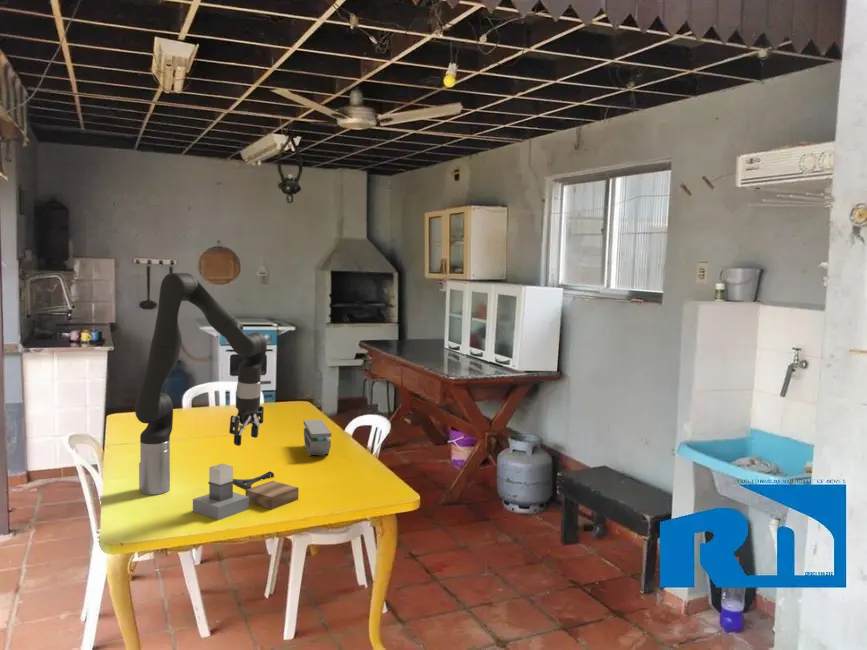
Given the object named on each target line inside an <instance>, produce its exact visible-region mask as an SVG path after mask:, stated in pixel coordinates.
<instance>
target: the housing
mask: <svg viewBox="0 0 867 650" xmlns="http://www.w3.org/2000/svg"><path fill="white" fill-rule="evenodd" d="M208 469H209V471H208V472H209V473H208V475H209V476H208V477H209V480H208V485H209V486H208V489H209V490H208V491H209V493H208V494H209V498H210V499H213V500H216V501H219V502H221V501H224V500H227V499H230V498H233V492H234V481H233V479H234V466H233V465H228V464H226V463H220V464H216V465H212V466H209V467H208Z"/></svg>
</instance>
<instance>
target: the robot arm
mask: <svg viewBox="0 0 867 650" xmlns="http://www.w3.org/2000/svg"><path fill="white" fill-rule="evenodd" d="M159 289H160V290H159V297H158V307H157V309H158V310H157V314H156V320H155V325H154V331H153V335H152V340H151V341H150V342H151V343H150V347H149V348H150V349H149V353H148V358H147V364H146V367H145V371H144V372H145V373H144V376H143V380H142V383H141V387H140V390H139V391H138V395H137V397H136V402H135V405H134V414H135V416H136V417H135V418H136V419H137V420H138V421H139V422H140V423H142V424H147V425H146V427H145V429H144V430H142V432H141V433H140V436H139V439H140V442H139V443H140V449H139V450H140V451H139V452H140V455H139V456H140V461H139V463H138V487H139V488H138V490H139V491H140V494H143V495H160V494H165V493H168V492H169V491H170V490H171V488H170V487H171V451H170V450H171V448H170V447H171V439H170V438H171V435H172V431H173V424H174V423H173V422H174V405H173V404H174V403H173V401H172V398H171V397H170V395H168V393H165V392H162V391H163V387H164V385H165V382H166V381H167V379H168V378H169V376H170V374H172V372H173V370H174V368H175V367H176V365H177V362H178V360H179V357H180V353H181V347H182V343H183V339H182V338H183V337H182V332H181V329H180V325H179V320H178V319H179V318H178V317H179V311H180V307H181V304H182V302H189V303H191V304H193V305H194V306H196V308H198V309H199V310H200V311H201V313H202V314H203V315H204V317H205V319H206V321H207V323H208V324H209V325H210V326H211V327H212V329H214V330H215V331H216V332H217V333H219V334H220V335H221V336H222V337H224V338H225V339H226V342H227V343H228V345H229V346H230V347H231V349H232V350H233V351H234V353H236V354H237V355H238V356H240V357H242V358H244V360H243V361H242V362H241V363H240V364H239V365H238V371H237V384H236V396H235V408H236V409H237V414H236V415H231V416H230V421H229V434H231V435H233V436H234V437H233V443H234V445H235V446H238V447H240V446H241V445H242V434H243V431H244V430H245V429H246V427H247V426H249V425H250V424H251V432H250V436H251V438H254V439H255V438H258V437H259V436H258V435H259V427H260V425H261V424H263V423H264V410H265V409H264V406H262V405H261V394H262V393H261V391H262V386H261V377H262V374H261V373H262V367H263V363H264V360H265V356H266V353H267V348H268V343H267V338H266V337H265V335H263V334H262V333H260V332H251V333H249V334H248V333H247V334H246V333H244V332H243V331H244V325H243V323H242V322H241V321H240V319H238V318H237V317H236V316H234V315H233V314H232V313H230V312H229V311H228V310H227V309H226V308H224V307H223V306H222V305H221V304H220V302H218V301H217V300H216V299H215V298H214V296H212V295H211V293H210V292H209V291H208V290H207V289H206V288H205V286H204V285H203V284H202V282H200V280H198V279H197V277H195V276H194V274H191V273H187V272H171V273H168V274H166V275H165V276H164V277H163V278H162V281H161V284H160V288H159Z"/></svg>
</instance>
